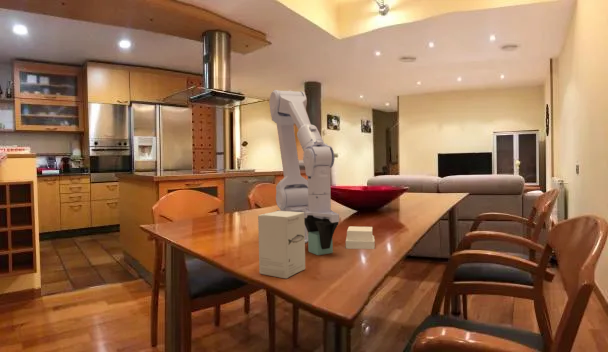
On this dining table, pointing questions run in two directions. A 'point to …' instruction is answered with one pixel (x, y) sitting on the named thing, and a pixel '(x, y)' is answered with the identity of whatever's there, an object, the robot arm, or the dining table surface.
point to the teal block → (317, 244)
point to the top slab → (359, 233)
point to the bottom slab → (360, 244)
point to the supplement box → (281, 243)
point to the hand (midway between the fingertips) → (320, 246)
